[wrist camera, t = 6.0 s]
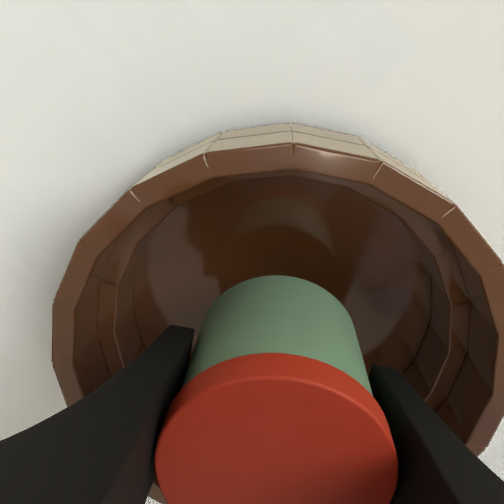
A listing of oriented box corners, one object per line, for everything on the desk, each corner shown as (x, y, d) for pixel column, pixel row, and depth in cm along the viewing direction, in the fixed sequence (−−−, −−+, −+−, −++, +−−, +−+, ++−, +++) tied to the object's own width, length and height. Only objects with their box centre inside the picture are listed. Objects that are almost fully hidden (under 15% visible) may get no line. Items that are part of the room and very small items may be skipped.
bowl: (396, 463, 18) (425, 566, 14) (96, 406, 18) (48, 494, 14) (523, 167, 13) (615, 207, 10) (118, 85, 13) (54, 93, 9)
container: (336, 423, 14) (359, 576, 10) (184, 394, 14) (142, 534, 10) (383, 288, 12) (435, 406, 8) (207, 253, 12) (167, 354, 8)
